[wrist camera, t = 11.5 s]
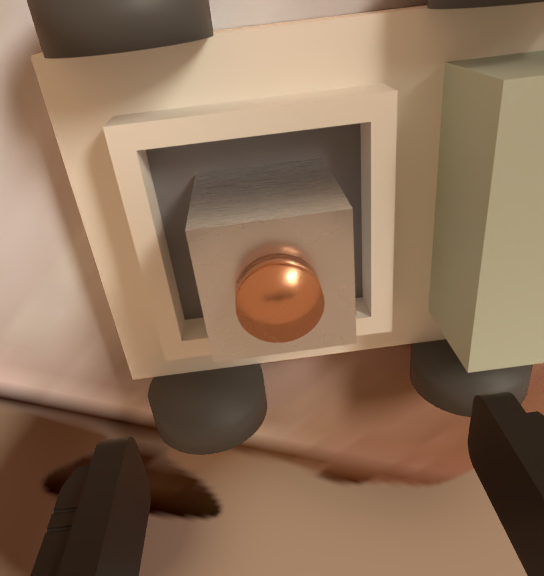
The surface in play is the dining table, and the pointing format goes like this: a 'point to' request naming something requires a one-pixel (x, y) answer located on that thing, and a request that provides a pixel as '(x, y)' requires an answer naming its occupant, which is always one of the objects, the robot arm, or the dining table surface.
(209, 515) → the dining table surface
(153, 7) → the chassis
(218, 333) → the cube with copper knob
